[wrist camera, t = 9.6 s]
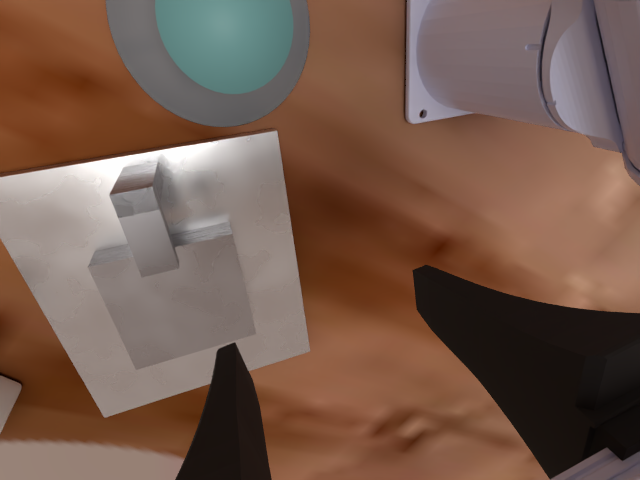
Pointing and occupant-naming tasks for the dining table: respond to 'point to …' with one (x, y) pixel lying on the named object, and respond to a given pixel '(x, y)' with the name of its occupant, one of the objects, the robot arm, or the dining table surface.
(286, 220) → the post base
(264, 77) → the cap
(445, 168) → the dining table surface
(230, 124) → the coaster
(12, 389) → the medicine bottle
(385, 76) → the dining table surface
